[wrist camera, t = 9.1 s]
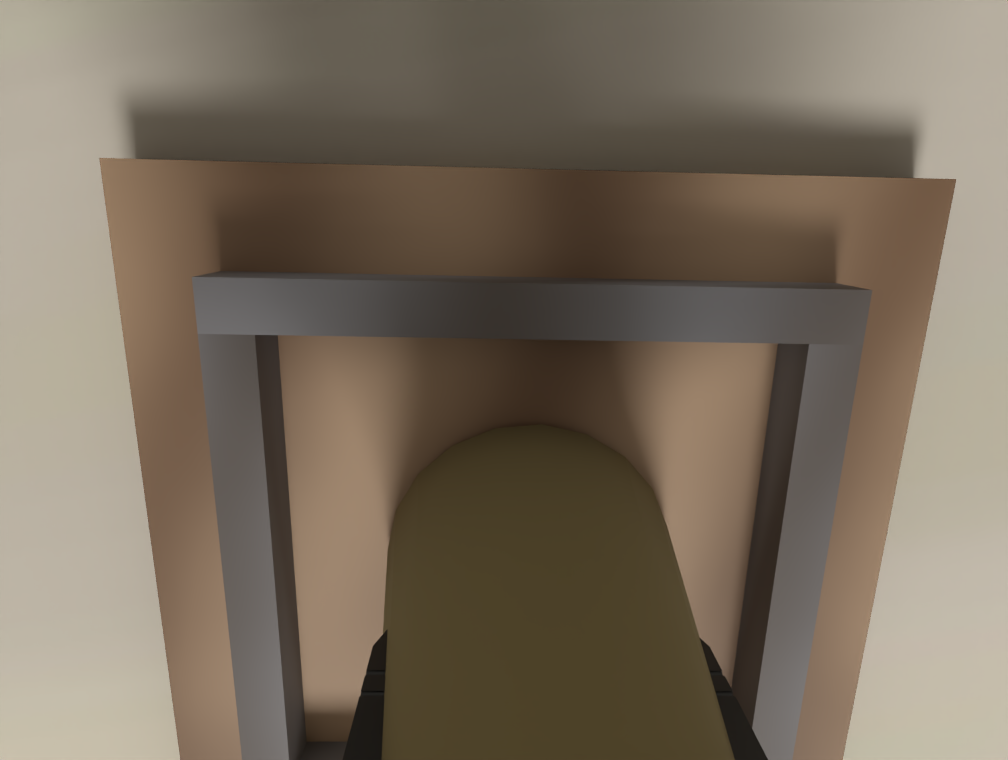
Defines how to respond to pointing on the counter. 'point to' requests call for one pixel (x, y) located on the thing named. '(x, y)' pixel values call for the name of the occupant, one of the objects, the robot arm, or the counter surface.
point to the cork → (540, 611)
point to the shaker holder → (511, 404)
